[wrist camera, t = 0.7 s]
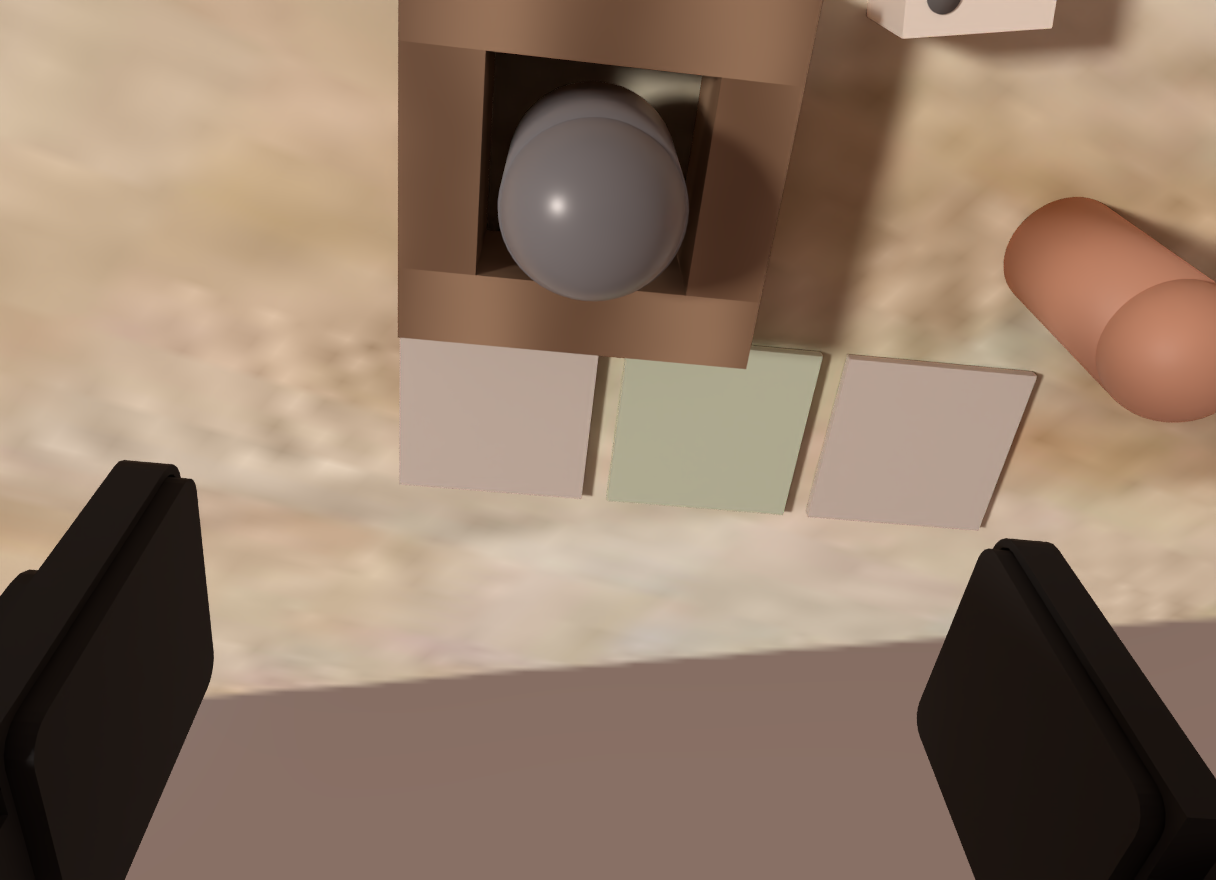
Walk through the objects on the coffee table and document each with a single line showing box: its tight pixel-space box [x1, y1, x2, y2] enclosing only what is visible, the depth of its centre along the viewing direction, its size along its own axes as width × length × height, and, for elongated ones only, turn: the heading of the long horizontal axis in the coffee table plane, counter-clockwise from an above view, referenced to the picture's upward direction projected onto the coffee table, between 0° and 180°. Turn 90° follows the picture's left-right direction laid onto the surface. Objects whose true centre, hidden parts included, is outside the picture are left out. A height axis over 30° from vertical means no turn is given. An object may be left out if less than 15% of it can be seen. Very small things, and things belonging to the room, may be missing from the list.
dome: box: [498, 81, 689, 301], centre depth 27 cm, size 5×5×6 cm
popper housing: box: [398, 0, 823, 369], centre depth 30 cm, size 11×11×4 cm
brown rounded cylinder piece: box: [1004, 197, 1216, 422], centre depth 30 cm, size 4×4×10 cm
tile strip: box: [399, 338, 1037, 531], centre depth 37 cm, size 23×7×1 cm, turn 84°
